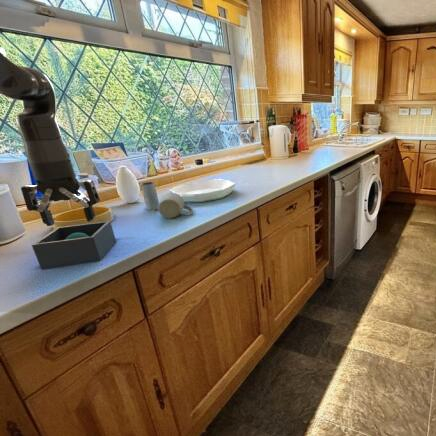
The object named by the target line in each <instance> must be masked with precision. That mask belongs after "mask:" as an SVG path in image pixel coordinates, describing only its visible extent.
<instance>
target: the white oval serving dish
mask: <svg viewBox="0 0 436 436" xmlns="http://www.w3.org/2000/svg"><path fill="white" fill-rule="evenodd" d="M235 187H236V183H235V182H233V181H230V180H228V179H223V178H215V179H205V180H199V181H193V182H186V183H183V184H179V185H176V186H174V187H172V188H169V189H168V190H169V191H170V192H169V193H176V194H178V195H180V196H181V197H182V198H183V200H184V203H206V202H210V201H211V202H212V201H216V200H220V199H223V198H225V197H227V196H229V195H230V194H232V192H233V191H234V189H235Z"/></svg>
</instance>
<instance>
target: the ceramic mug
mask: <svg viewBox="0 0 436 436" xmlns="http://www.w3.org/2000/svg"><path fill="white" fill-rule="evenodd" d="M157 211H158V213H159V214H160V215H161V216H162V217H163V218H166V219H174V218H176V217H178V216H179V215H180V214H181V215H185V216H190V215H192V214H193V213H194V208H192V207H191V206H189V205H187V204H185V202H184V200H183V198H182V197H181V196H180V195H178V194H176V193H171V192H167V193H165V194H164V195H163V196H162V197H161V199H160V201H159V206H158V210H157Z"/></svg>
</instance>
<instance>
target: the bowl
mask: <svg viewBox="0 0 436 436" xmlns="http://www.w3.org/2000/svg"><path fill="white" fill-rule="evenodd" d="M83 208H84V207H81V208H77V209H72V210H68V211H64V212H61V213H58V214H56V215H54V216H52V217H53V219H54V224H53V225H52V228H53V229H52V230H55V229H56V228H58V227H65V226H74V225H82V224H90V223H99V222H107V221H110V222H111V223H112V222H113V221H114V214H113V210H112V208H111V207H110V206H105V205H104V206H103V205H102V206H93V210H94V213H95V217H94V219H93V220H92V221H89V222H88V221H87V219H86V216H85V213H84V209H83Z"/></svg>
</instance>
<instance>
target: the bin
mask: <svg viewBox="0 0 436 436" xmlns="http://www.w3.org/2000/svg"><path fill="white" fill-rule="evenodd" d="M73 233H84V234H86V235H88V236H89V237H84V238H76V239H69V240H65V239H66V238H67V237H68V236H69V235H71V234H73ZM116 239H117V238H116V236H115V233H114V230H113V226H112V221H111V222H110V221H107V222H99V223H90V224H82V225H74V226H65V227H58V228H56V229H55V230H54V229H52V230H51V231H50V232H49V233H47V234H46V235H44V236H43V237H41V238H40V239H39V240H37V241H36V242H34V243H33V244H31V247H32V250H33V252H34V254H35V257H36V259H37V262H38V265H39V267H40V269H41V270H47V269H54V268H61V267H68V266H74V265H81V264H89V263H95V262H100V261H102V260H103V259H104V257H105V256H106V255H107V254H108V253H109V252H110V250H111V249H112V248H113V247H114V245H116V243H117V240H116Z"/></svg>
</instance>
